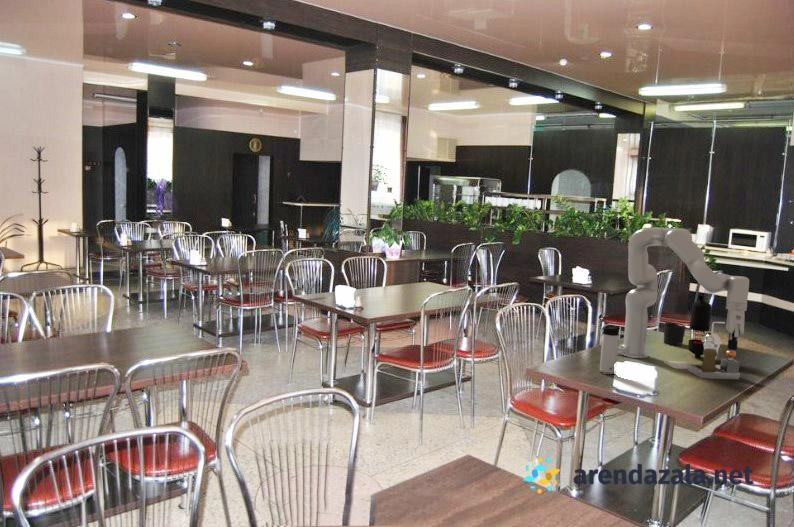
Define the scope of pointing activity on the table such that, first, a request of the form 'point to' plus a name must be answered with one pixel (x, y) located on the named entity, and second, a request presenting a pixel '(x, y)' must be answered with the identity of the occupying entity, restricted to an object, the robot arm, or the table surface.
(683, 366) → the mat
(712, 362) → the brown waisted column
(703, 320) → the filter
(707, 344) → the cup with straw
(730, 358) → the plunger
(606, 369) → the travel mug
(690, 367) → the housing
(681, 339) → the pen holder
